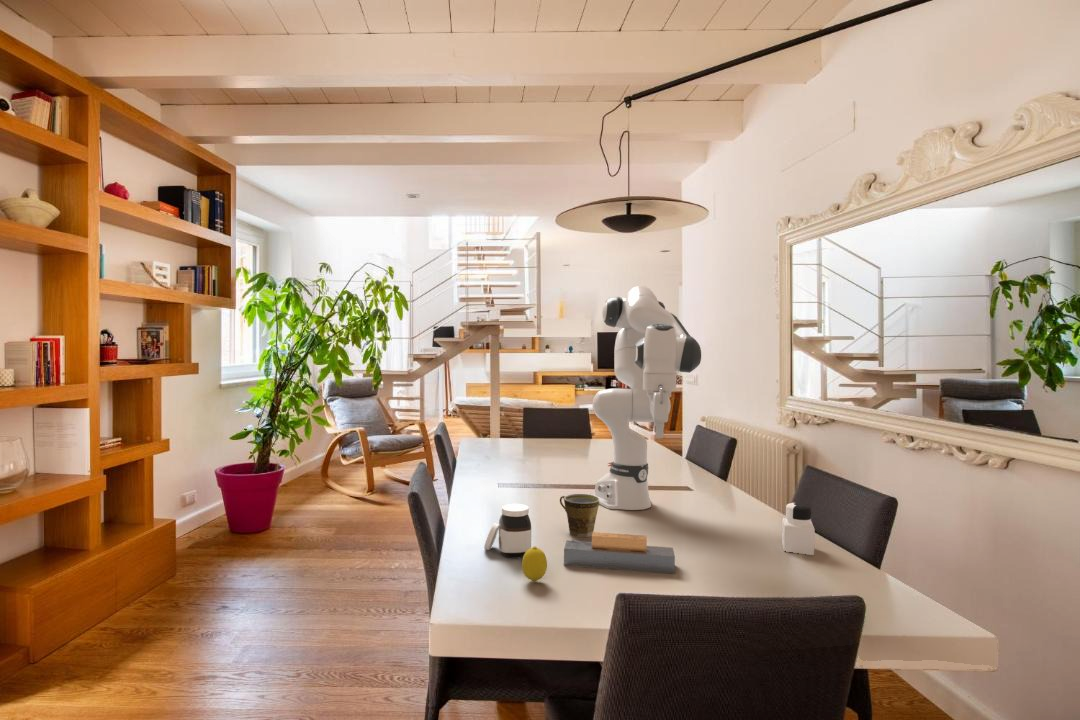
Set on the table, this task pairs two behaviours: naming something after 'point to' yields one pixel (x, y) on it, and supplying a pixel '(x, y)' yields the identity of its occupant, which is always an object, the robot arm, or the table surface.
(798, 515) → the medicine bottle
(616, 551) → the rail
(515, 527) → the spread jar
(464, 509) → the table surface
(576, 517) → the ceramic cup
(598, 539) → the wooden arch block
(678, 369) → the robot arm
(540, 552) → the lemon
